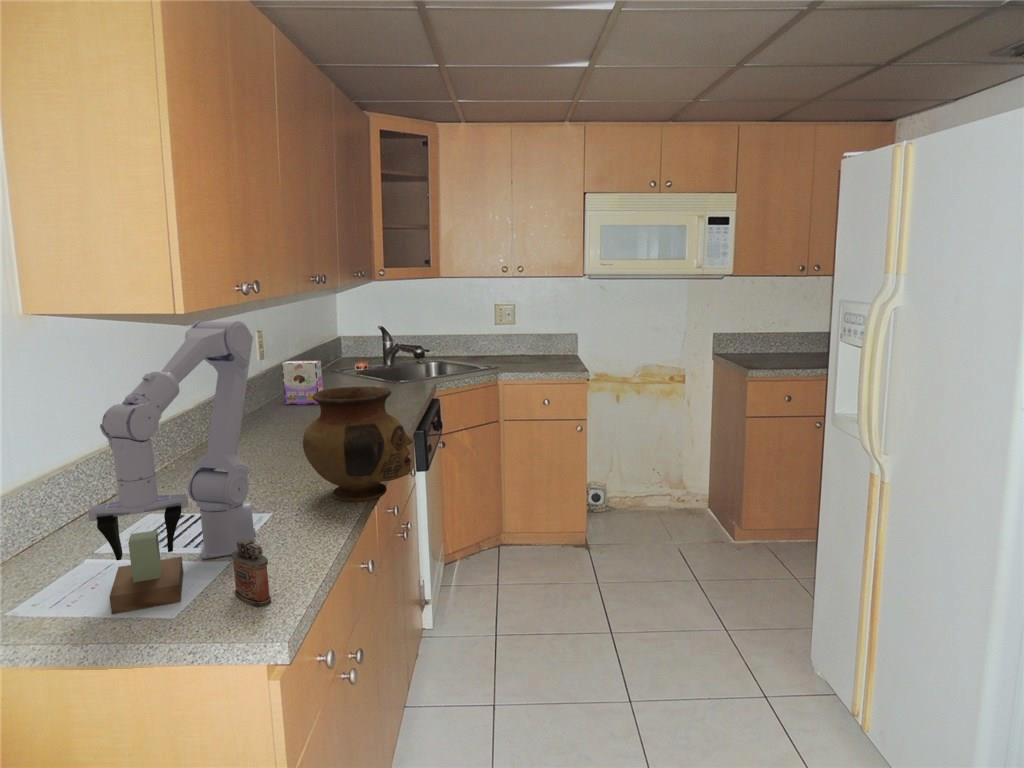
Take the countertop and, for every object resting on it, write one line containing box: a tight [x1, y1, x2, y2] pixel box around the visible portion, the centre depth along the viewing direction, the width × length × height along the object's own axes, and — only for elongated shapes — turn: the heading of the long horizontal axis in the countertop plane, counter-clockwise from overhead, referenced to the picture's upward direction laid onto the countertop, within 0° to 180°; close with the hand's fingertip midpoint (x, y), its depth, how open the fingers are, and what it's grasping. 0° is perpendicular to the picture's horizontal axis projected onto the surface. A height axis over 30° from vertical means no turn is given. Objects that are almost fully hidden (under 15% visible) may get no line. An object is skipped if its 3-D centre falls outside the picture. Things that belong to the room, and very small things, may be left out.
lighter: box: [230, 539, 272, 609], centre depth 116 cm, size 8×3×10 cm, turn 52°
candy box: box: [281, 360, 324, 405], centre depth 272 cm, size 14×6×16 cm, turn 84°
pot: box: [302, 386, 414, 503], centre depth 166 cm, size 25×24×25 cm
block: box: [127, 529, 162, 583], centre depth 118 cm, size 4×4×7 cm
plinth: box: [108, 556, 184, 615], centre depth 119 cm, size 10×12×3 cm
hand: (145, 553), depth 118 cm, fingers open, 7 cm apart
